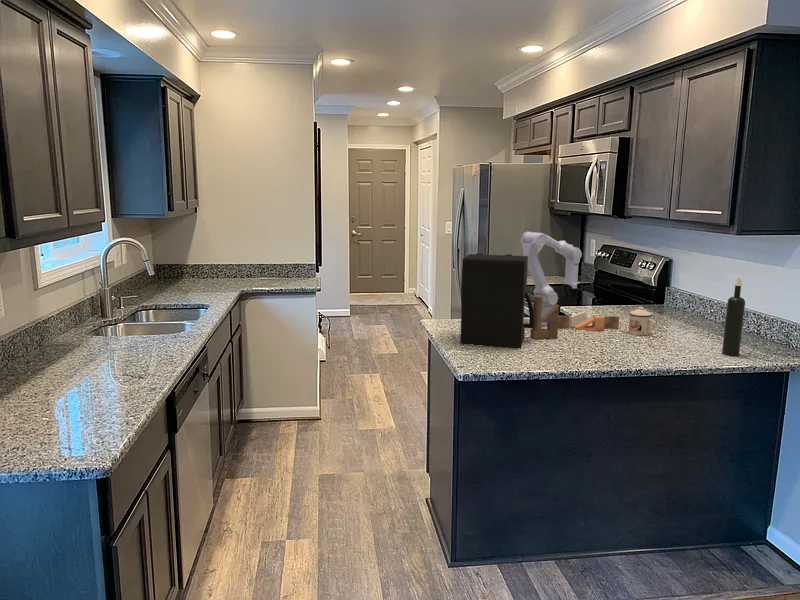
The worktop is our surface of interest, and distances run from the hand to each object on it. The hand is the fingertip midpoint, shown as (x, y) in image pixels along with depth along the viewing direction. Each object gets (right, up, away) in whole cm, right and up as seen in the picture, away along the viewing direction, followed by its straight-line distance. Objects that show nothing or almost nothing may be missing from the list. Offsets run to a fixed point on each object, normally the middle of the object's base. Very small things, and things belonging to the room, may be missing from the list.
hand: (569, 301), depth 283 cm
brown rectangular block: (+4, -12, -14) cm, 19 cm away
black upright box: (-40, -17, -36) cm, 56 cm away
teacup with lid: (+24, -14, -24) cm, 37 cm away
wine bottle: (+46, -20, -55) cm, 74 cm away
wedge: (+4, -13, -17) cm, 21 cm away
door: (+1, -11, -8) cm, 14 cm away
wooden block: (-20, -16, -31) cm, 40 cm away
